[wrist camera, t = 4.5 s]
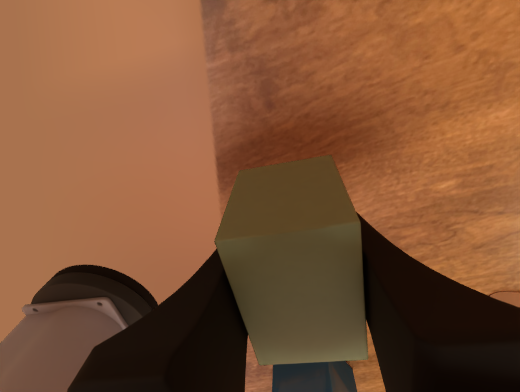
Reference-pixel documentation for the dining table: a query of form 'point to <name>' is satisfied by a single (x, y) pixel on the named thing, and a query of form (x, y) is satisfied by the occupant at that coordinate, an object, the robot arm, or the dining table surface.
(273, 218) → the olive boxy piece
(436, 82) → the dining table surface
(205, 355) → the robot arm
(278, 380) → the perfume bottle
